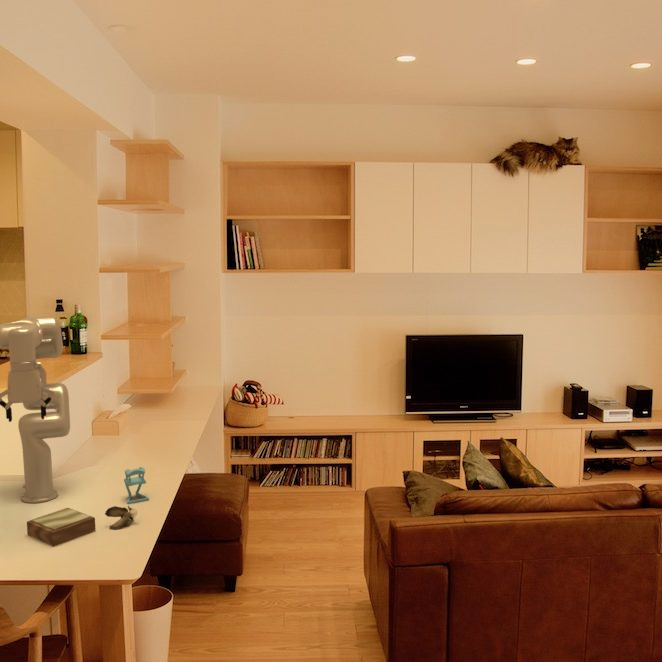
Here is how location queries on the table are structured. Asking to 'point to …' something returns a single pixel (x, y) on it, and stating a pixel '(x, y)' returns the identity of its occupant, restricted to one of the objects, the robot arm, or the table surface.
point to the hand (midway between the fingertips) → (26, 419)
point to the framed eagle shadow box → (60, 526)
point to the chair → (135, 483)
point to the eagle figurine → (121, 515)
